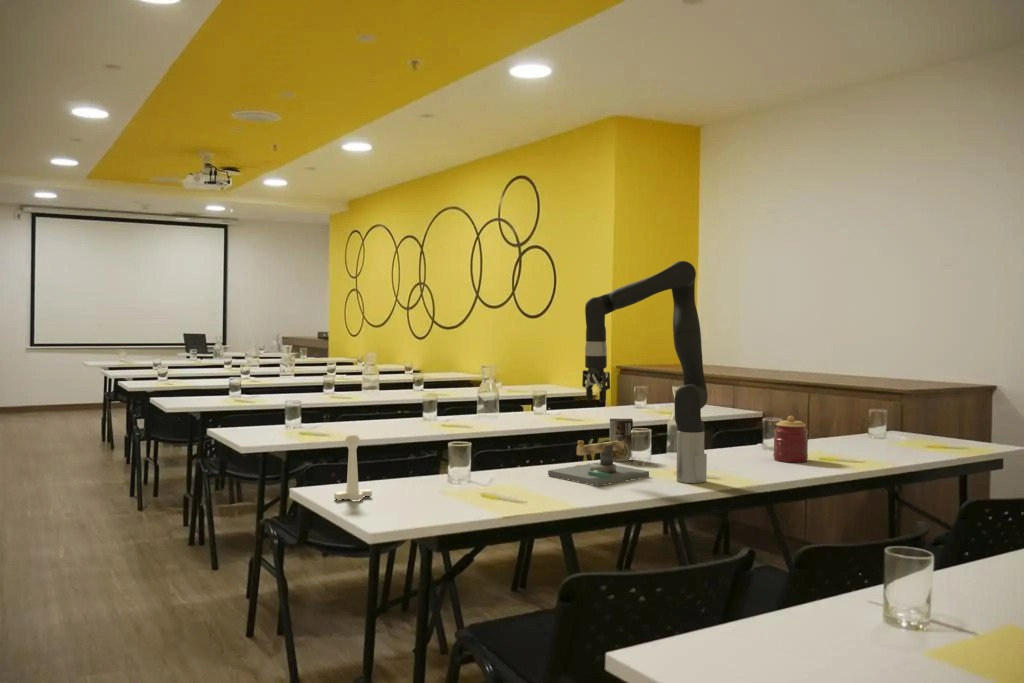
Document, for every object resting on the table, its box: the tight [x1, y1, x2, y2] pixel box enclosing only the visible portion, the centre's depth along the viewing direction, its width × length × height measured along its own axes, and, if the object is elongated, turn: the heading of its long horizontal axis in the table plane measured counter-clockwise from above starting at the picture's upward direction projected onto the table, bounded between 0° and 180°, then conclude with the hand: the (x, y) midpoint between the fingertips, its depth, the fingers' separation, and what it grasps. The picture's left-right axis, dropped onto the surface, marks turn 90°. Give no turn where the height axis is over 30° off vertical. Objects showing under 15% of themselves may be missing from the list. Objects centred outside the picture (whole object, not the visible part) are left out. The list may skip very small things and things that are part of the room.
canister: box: [773, 415, 809, 464], centre depth 335 cm, size 13×13×18 cm
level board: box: [547, 461, 650, 486], centre depth 300 cm, size 24×26×4 cm
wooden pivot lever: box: [576, 435, 624, 473], centre depth 298 cm, size 22×9×12 cm, turn 131°
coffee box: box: [609, 418, 634, 462], centre depth 334 cm, size 9×6×16 cm
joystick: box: [333, 433, 373, 501], centre depth 261 cm, size 11×8×20 cm
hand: (595, 400), depth 298 cm, fingers open, 8 cm apart
